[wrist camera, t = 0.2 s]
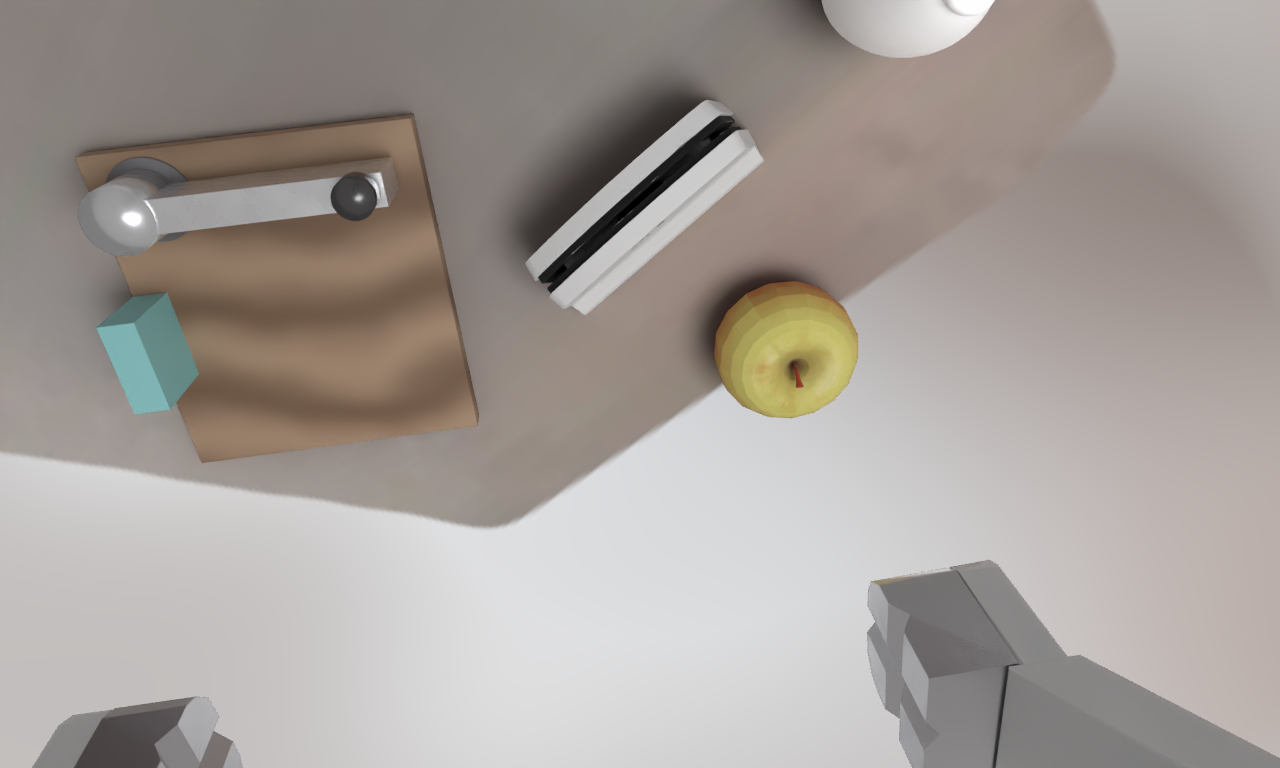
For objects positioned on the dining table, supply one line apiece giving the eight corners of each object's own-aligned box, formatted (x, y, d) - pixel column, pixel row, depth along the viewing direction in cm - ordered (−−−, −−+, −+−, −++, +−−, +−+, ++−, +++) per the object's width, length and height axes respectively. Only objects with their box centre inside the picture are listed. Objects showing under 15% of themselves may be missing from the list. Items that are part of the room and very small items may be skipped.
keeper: (132, 296, 53) (96, 327, 49) (167, 292, 54) (133, 323, 49) (166, 378, 56) (134, 414, 52) (199, 373, 56) (170, 409, 52)
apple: (742, 407, 64) (766, 463, 57) (682, 309, 60) (701, 357, 53) (855, 345, 63) (895, 395, 56) (803, 240, 58) (839, 280, 51)
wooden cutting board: (86, 152, 50) (72, 158, 49) (413, 114, 51) (409, 119, 50) (209, 452, 61) (200, 465, 59) (479, 415, 62) (477, 427, 60)
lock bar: (127, 238, 51) (83, 268, 46) (101, 173, 49) (52, 198, 44) (402, 204, 52) (388, 231, 47) (387, 140, 50) (370, 160, 45)
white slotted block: (585, 315, 59) (554, 338, 49) (541, 265, 59) (502, 278, 49) (768, 157, 55) (774, 148, 46) (723, 101, 55) (719, 81, 45)
